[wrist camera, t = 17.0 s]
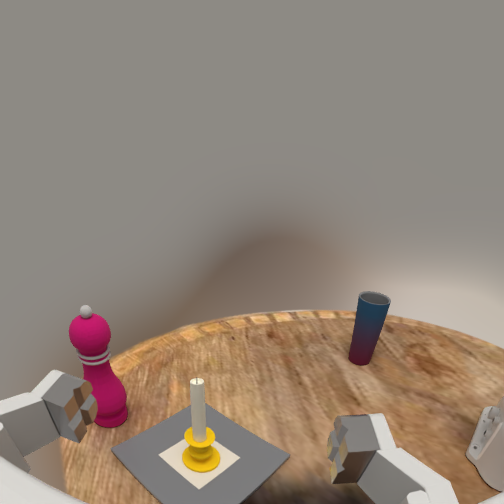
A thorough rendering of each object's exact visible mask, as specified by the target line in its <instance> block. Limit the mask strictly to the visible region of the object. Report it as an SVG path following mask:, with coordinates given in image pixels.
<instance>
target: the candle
mask: <svg viewBox="0 0 504 504" xmlns="http://www.w3.org/2000/svg"><path fill="white" fill-rule="evenodd" d="M190 398H191V416H192V427H190V428H189V429H187V431H186V432H185V434H184V438H185V441H186V442H187V443H188V444H189V445H190V446H188V447H187V448H186V449H185V450H184V451H183V454H182V461H183V463H184V465H185V466H186V467H187V468H189V469H190V470H192V471H195V472H199V473H205V472H210V471H212V470H214V469H215V468H216V467H218V465H219V463H220V454H219V452H218V450H217V449H216V448H214V447H213V446H211V444H212V443H213V442H214V441H215V434H214V432H213V431H212V430H211V429H210V428H208V427H206V414H205V389H204V380H202V379H200V378H197V377H196V378H195V379H192V380H191V381H190Z"/></svg>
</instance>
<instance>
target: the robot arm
mask: <svg viewBox="0 0 504 504" xmlns="http://www.w3.org/2000/svg"><path fill="white" fill-rule="evenodd" d="M92 391H93V388H92V385H91V383H90V382H89V381H86V380H83V379H81V378H78V377H75V376H72V375H69V374H67V373H63V372H61V371H58V370H52V371H51V372H50V373H49V374H48V375H47V376H46V377H45V378H44V379H43V380H42V381H41V382H40V383H39V384H38V386H36V388H35V389H34V390H33V391H32V392H31V393H23V394H20V395H17V396H14V397H11V398H8V399H5V400H1V401H0V504H88V503H86V502H84V501H81V500H79V499H77V498H75V497H72V496H70V495H68V494H66V493H64V492H62V491H60V490H58V489H56V488H54V487H52V486H50V485H48V484H46V483H44V482H42V481H41V480H39V479H37V478H35V477H34V476H32V475H30V474H28V472H29V471H30V466H29V465H28V463H27V462H26V460H25V459H24V456H26V455H28V454H30V453H32V452H34V451H36V450H38V449H39V448H41V447H43V446H45V445H47V444H49V443H50V442H52V441H54V440H56V439H58V438H59V437H60V436H62V437H64V438H67V439H69V440H72V441H74V442H77V443H80V442H81V440H82V439H83V437H84V435H85V434H86V432H87V427H86V426H87V425H89V424H91V423H93V421H94V420H95V418H96V415H97V411H98V408H97V401H96V399H95V398H94V397H93V395H92V394H91V392H92ZM334 428H335V430H333V431H332V432H330V435H329V438H328V445H327V453H328V458H329V459H330V460H331V461H332V464H331V467H330V474H331V481H332V484H341V483H357V482H358V483H357V484H358V485H359V486H360V487H361V489H362V490H363V491H364V492H365V493H366V494H367V495H368V496H369V497H370V498H371V499H372V500H373V501H374V502H375V503H376V504H459V503H458V500H457V498H456V495H455V493H454V491H453V488H452V486H451V484H450V481H448V480H447V479H445V478H443V477H442V476H440V475H439V474H438V473H436V472H435V471H433V470H432V469H430V468H429V467H427V466H426V465H424V464H423V463H421V462H420V461H419V460H417V459H416V458H414V457H413V456H411V455H410V454H409V453H407V452H406V451H404V450H403V449H402V448H396V445H395V443H394V440H393V437H392V435H391V432H390V430H389V427H388V424H387V422H386V419H385V417H384V415H383V414H382V413H380V414H367V415H366V414H365V415H345V416H337V417H336V419H335V422H334ZM466 456H467V458H468V459H469V460H470V461H471V462H472V463H473V464H474V465H475V466H476V467H477V469H478V471H479V473H480V475H481V477H482V478H483V479H484V481H485V482H486V483H487V484H488V485H490V486H491V487H492V488H494V489H496V490H498V491H502V492H501V493H499V494H497V495H495V496H493V497H491V498H489V499H487V500H484V501H482V502H480V503H478V504H504V397H502V398H501V400H500V401H499V403H498V404H497V406H490V407H485V408H484V409H483V411H482V413H481V416H480V418H479V421H478V424H477V427H476V429H475V432H474V434H473V437H472V439H471V442H470V444H469V447H468V449H467V451H466Z"/></svg>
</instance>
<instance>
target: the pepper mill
mask: <svg viewBox="0 0 504 504" xmlns="http://www.w3.org/2000/svg"><path fill="white" fill-rule="evenodd" d="M69 336H70V340H71V343H72V344H73V346H74V347H75V348H76V352H77V354H78V359H79V361H80V362H82V364H83V368H84V378H83V380H86V381H89V382H90V383H91V385H92V388H93V391H92V392H91V394H92V395H93V397H94V398H95V399H96V401H97V408H98V411H97V415H96V418H95V420H94V422H96V423H97V424H98V425H100V426H103V427H110V428H111V427H116V426H119V425H121V424H122V423H123V422H124V421H125V420H126V419H127V415H128V412H127V408H126V404H125V403H126V399H127V396H126V392H125V389H124V386H123V385H122V383H121V381H120V380H119V379H118V378H117V377H116V375H115V374H114V373H113V371H112V369H111V366H110V363H109V358H110V355H111V353H110V347H109V345H108V343H109V341H110V338H111V332H110V328H109V325H108V324H107V322H106V320H104V319H103V318H102V317H101V316H99V315H97V314H93V313H92V309H91V308H90V307H89V306H88V305H84V306H82V307H81V309H80V315H79V316H77V317H76V318H75V319H74V320H73V321H72V323H71V325H70V327H69Z"/></svg>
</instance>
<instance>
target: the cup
mask: <svg viewBox="0 0 504 504" xmlns="http://www.w3.org/2000/svg"><path fill="white" fill-rule="evenodd" d="M390 302H391V300H390V299H389V297H387V296H386V295H383V294H381V293H377V292H370V291H367V292H362V293H360V294H359V299H358V306H357V312H356V319H355V325H354V330H353V336H352V342H351V347H350V352H349V360H350V361H351V362H352V363H354V364H356V365H366V364H368V363H369V362H370V360H371V357H372V354H373V352H374V349H375V346H376V344H377V341H378V338H379V335H380V332H381V330H382V327H383V324H384V321H385V318H386V315H387V311H388V308H389V305H390Z"/></svg>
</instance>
